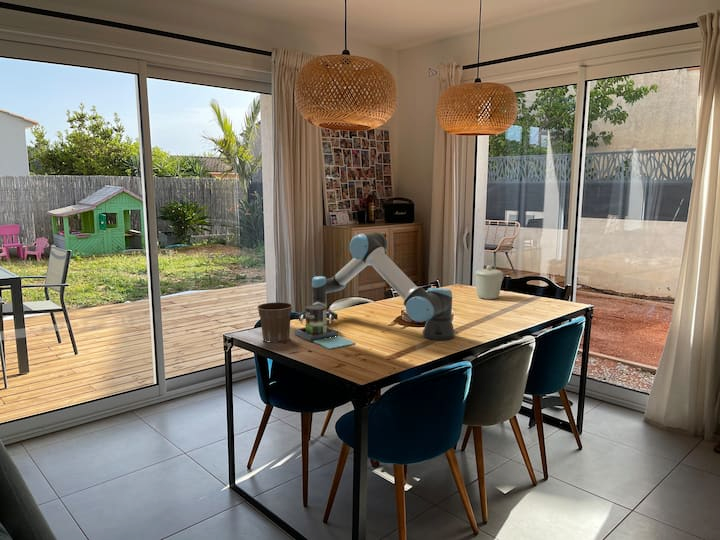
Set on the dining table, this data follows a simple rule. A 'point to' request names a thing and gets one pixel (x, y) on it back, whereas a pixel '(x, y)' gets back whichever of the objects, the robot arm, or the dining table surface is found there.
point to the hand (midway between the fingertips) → (315, 320)
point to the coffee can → (316, 319)
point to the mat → (334, 342)
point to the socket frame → (303, 334)
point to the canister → (488, 282)
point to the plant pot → (275, 321)
